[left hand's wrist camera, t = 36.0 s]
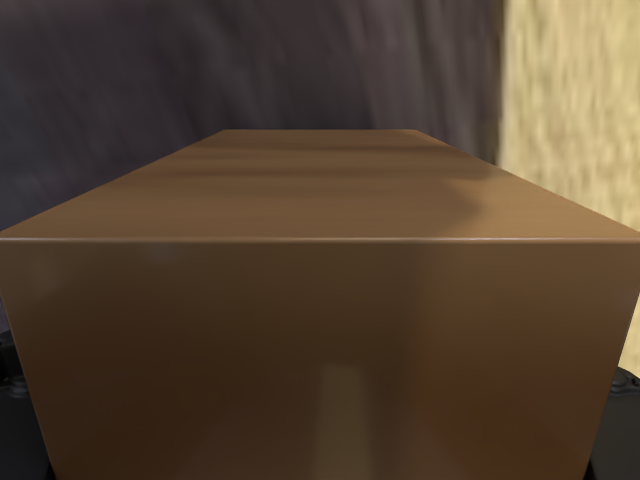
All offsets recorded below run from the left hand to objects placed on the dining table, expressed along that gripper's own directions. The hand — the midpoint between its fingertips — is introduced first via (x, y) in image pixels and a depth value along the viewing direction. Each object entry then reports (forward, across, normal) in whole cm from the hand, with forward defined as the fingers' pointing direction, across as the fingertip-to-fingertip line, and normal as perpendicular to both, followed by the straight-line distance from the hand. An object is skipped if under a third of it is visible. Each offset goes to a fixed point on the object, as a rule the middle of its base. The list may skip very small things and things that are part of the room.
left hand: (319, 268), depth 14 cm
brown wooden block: (+3, 0, 0) cm, 3 cm away
